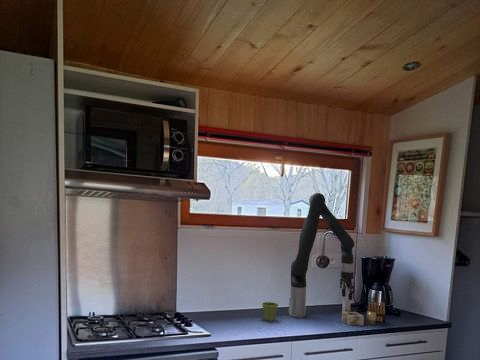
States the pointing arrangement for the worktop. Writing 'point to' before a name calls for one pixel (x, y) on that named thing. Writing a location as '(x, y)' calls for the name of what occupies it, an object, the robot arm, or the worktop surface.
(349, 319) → the bit holder
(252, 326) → the worktop surface
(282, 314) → the worktop surface
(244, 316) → the worktop surface
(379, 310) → the ammunition clip
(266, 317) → the plant pot
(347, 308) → the square bit
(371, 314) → the round bit
